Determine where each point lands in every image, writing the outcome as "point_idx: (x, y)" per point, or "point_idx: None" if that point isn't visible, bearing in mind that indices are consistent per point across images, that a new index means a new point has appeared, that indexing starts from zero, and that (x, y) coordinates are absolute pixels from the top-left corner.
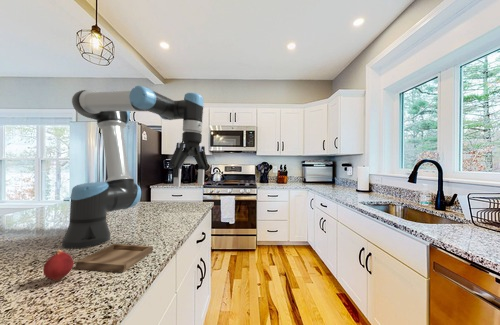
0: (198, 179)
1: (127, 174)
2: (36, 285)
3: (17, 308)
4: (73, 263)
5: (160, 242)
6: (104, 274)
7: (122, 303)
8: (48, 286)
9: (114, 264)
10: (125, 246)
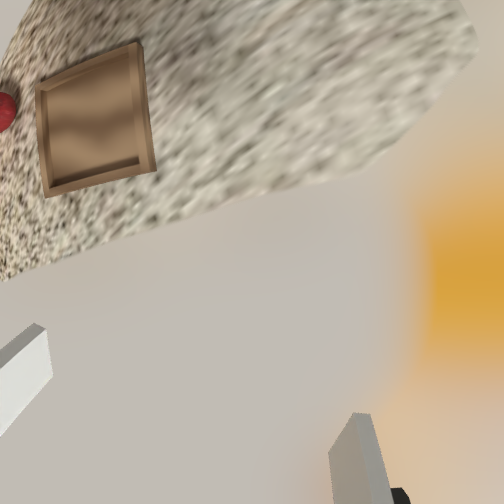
0: (358, 458)
1: None
2: None
3: None
4: (4, 123)
5: (241, 135)
6: None
7: (12, 273)
8: None
9: (41, 175)
10: (131, 86)
